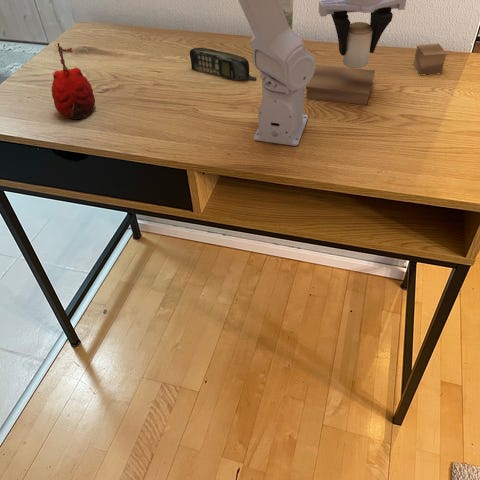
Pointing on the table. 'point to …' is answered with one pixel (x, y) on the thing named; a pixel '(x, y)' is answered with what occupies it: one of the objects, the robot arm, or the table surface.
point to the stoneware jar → (358, 45)
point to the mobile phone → (220, 64)
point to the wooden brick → (340, 84)
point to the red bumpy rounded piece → (71, 91)
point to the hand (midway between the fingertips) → (356, 51)
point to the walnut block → (429, 59)
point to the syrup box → (288, 11)
